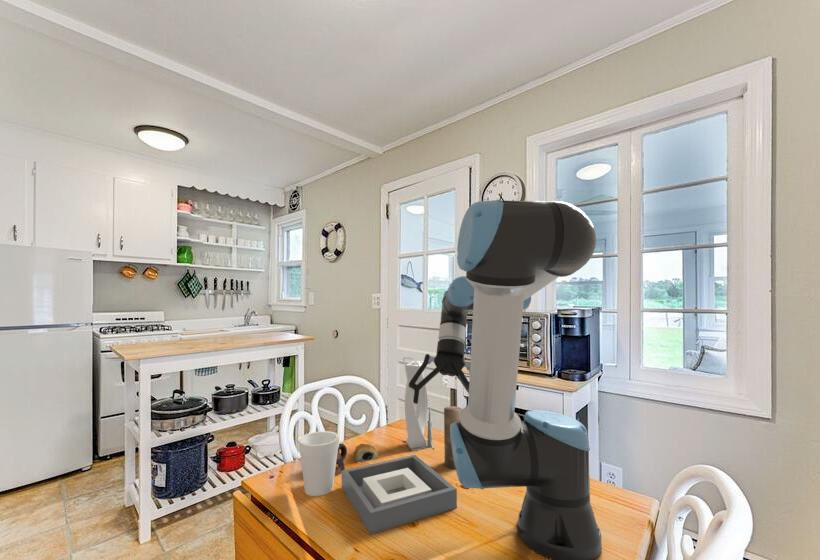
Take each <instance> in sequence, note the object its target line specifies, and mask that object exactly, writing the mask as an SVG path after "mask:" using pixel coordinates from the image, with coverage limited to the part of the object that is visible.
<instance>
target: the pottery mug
mask: <svg viewBox="0 0 820 560" xmlns="http://www.w3.org/2000/svg"><path fill="white" fill-rule="evenodd" d="M347 453H348V448H347V447H346V445H345V444H344V443H339V448H338V453H337V460H336V465H337V468H335V476H334V477H336V476H337V477H338V476H339V475H342V471H343V470H346V468H345V463H344V461H345V459H346V457H347Z"/></svg>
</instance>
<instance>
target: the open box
mask: <svg viewBox="0 0 820 560" xmlns="http://www.w3.org/2000/svg"><path fill="white" fill-rule="evenodd" d="M405 468H409V469H410V470H411V471H412V472H413V473H414V474H415V475H416V476H418V477H419V478H420V479H421V480H422V481H423V482H424V483H425V484H426V485H427V486H428V487H429V488H431V489H432V493H428V494H425V495H421V496H417V497H414V498H410V499H407V500H403V501H399V502H396V503H392V504H389V505H385V506H381V507H378V508H374V506H373V505H372V503H371V502H370V501H369V499H368V498H367V496H366V495H365V494H364V492H363V478H366V477H371V476H375V475H379V474H383V473H388V472H392V471H396V470H400V469H405ZM341 489H342V491H343V493H344V494H345V496H346V498H347V499H348V501H349V502H350V504H351V505H352V507H353V508H354V510H355V512H356V513H357V515H358V516H359V519H361V522H363V523H362V524H364V526H365V528H366V529H367V530H368V532H369V535H374V534H376V533H380V532H384V531H386V530H390V529H393V528H396V527H400V526H403V525H406V524H409V523H412V522H416V521H419V520H422V519H425V518H430V517H431V516H435V515H438V514H441V513H445V512H448V511H452V510H455V509H457V508H458V506H457V505H458V498H457V497H458V495H457V489H458V488H456V487H455V486H453V484H451V483H450V482H449V481H448V480H447V479H446V478H444V477H443V476H441V474H439V473H438V472H437V471H436V470H434V469H433V468H432V467H431V466H429V464H427V463H425V461H424V460H422V459H421V458H419V457H418V456H417V455H416V454H411V455H407V456H402V457H398V458H393V459H389V460H384V461H380V462H379V461H378V462H374V463H371V464H365V465H361V466H357V467H352V468H347V469H345V470H343V471H342V473H341ZM404 490H406V489H405V488H404V487H400V488H396V489H392V490H389V491H386V493H387V494H388V495H389V494H392V493H396V492H400V491H404Z"/></svg>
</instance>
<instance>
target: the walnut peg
mask: <svg viewBox="0 0 820 560" xmlns="http://www.w3.org/2000/svg"><path fill="white" fill-rule="evenodd" d="M462 409H463V408H462V407H460V406H446V407H444V409H443V416H444V417H443V421H444V422H443V425H444V426H443V427H444V428H443V429H444V434H443V438H444V439H443V440H444V442H443V445H444V446H443V447H444V466H445V467H446V468H448V469H455V470H456V468H455V463H454V458H453V452H452V446H451V438H450V425H451V424H452V423H455V422H458V423H459V417H460V412H461V411H462Z"/></svg>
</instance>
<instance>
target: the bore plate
mask: <svg viewBox="0 0 820 560" xmlns="http://www.w3.org/2000/svg"><path fill="white" fill-rule="evenodd" d="M400 487H404V488H405V489H406V490H404V491H400V492H396V493H392V494H389V495H388V494H387V493H386V491H389V490H392V489H396V488H400ZM363 492H364V494H365V495H366V496H367V498H368V499H369V501H370V502H371V503H372V505H373V506H374V508H378V507H381V506H385V505H389V504H392V503H396V502H399V501H403V500H407V499H410V498H414V497H417V496H421V495H425V494H428V493H432V489H431V488H429V487H428V486H427V485H426V484H425V483H424V482H423V481H422V480H421V479H420V478H419V477H418V476H416V475H415V474H414V473H413V472H412V471H411V470H410V469H409V468H405V469H400V470H396V471H392V472H388V473H383V474H379V475H375V476H371V477H366V478H363Z"/></svg>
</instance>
